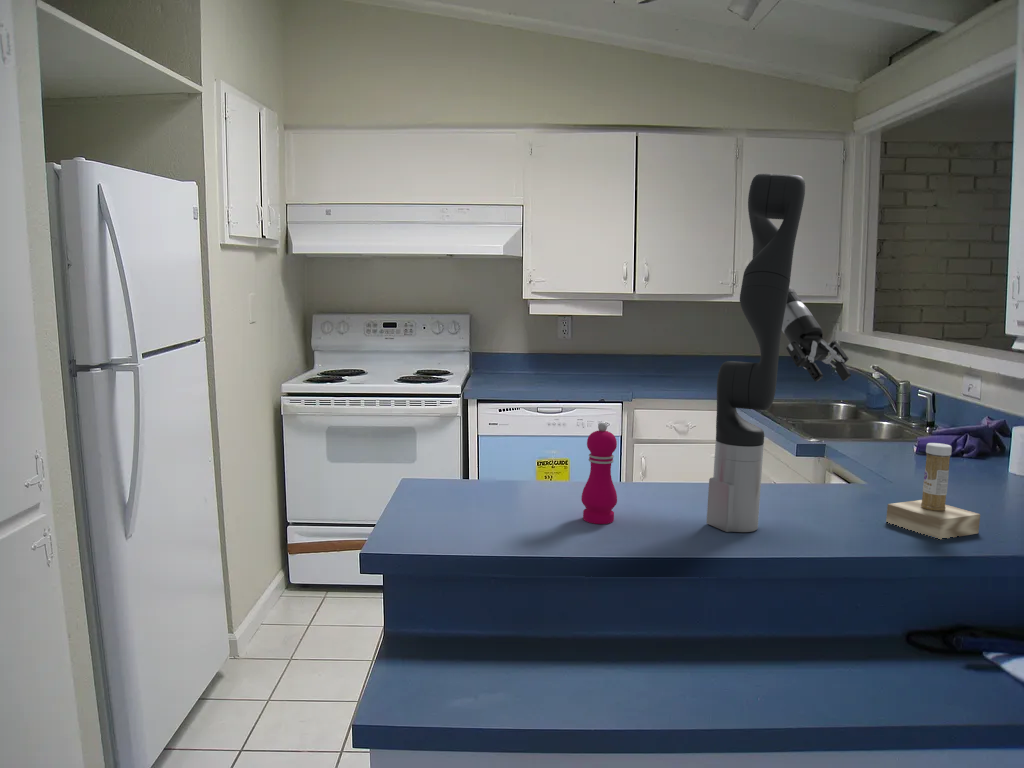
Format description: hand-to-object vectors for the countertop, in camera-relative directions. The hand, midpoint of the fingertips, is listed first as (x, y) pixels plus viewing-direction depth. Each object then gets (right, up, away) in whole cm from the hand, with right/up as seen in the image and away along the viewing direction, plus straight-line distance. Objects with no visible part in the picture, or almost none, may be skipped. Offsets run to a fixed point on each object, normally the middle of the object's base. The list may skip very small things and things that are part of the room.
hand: (833, 378), depth 172 cm
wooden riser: (+15, -31, -13) cm, 37 cm away
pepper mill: (-54, -29, -15) cm, 63 cm away
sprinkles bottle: (+15, -27, -13) cm, 34 cm away
